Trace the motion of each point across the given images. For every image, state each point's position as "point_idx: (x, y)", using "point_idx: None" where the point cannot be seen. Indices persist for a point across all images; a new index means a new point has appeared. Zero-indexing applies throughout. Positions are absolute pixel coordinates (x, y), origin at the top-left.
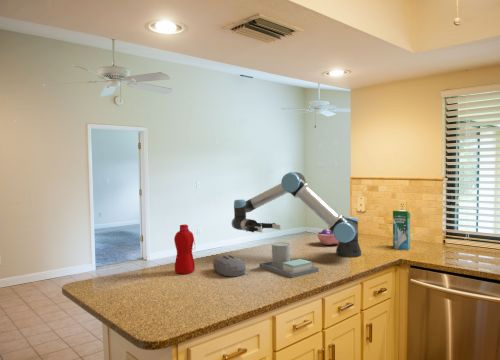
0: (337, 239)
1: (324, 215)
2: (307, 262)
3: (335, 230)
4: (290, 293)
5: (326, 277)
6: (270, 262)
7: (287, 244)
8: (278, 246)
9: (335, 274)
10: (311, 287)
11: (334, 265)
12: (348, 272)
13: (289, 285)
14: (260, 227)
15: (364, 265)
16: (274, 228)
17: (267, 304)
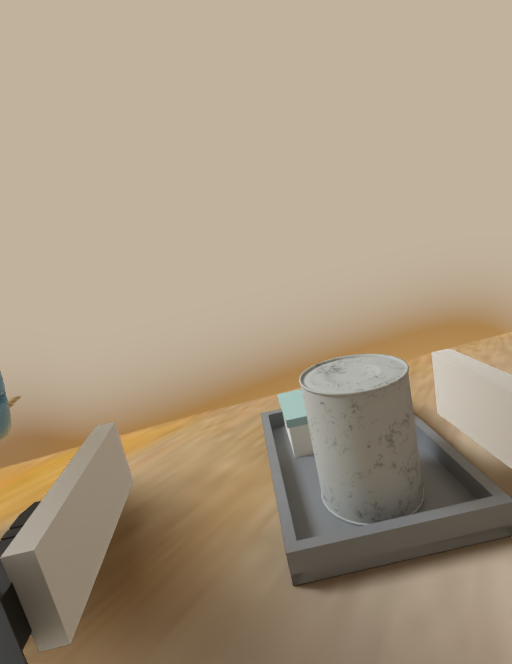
0: (10, 426)
1: None
2: (295, 392)
3: (2, 380)
4: (426, 359)
5: (273, 409)
6: (423, 516)
7: (315, 373)
8: (381, 358)
9: (229, 421)
10: None
11: None
12: (182, 428)
13: (411, 383)
14: (459, 356)
15: (66, 464)
16: (95, 567)
17: (494, 336)
